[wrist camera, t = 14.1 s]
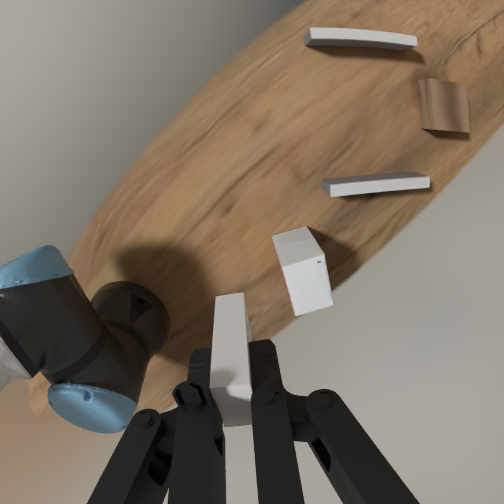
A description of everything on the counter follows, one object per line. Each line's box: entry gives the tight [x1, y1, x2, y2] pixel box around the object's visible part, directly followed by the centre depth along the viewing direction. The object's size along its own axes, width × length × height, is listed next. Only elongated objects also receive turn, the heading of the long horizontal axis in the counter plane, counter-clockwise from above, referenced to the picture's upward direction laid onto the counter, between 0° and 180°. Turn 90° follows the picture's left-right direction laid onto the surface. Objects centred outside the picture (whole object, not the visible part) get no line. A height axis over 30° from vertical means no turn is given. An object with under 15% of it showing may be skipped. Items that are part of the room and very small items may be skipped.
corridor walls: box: [304, 28, 430, 197], centre depth 36 cm, size 16×23×4 cm
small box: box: [272, 226, 334, 316], centre depth 42 cm, size 8×6×10 cm
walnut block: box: [417, 78, 470, 133], centre depth 36 cm, size 8×8×4 cm
